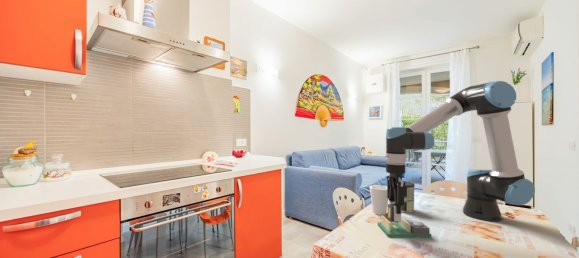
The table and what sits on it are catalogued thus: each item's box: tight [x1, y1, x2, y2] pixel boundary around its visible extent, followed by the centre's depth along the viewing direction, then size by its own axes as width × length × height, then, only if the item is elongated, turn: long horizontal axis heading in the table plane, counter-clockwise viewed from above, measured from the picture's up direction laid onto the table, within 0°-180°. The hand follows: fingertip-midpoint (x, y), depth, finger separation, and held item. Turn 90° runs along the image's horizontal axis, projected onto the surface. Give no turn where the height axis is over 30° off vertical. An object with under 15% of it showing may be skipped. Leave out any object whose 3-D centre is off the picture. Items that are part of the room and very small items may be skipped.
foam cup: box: [369, 184, 389, 216], centre depth 126 cm, size 10×9×13 cm
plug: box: [386, 203, 401, 223], centre depth 104 cm, size 4×4×6 cm
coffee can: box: [394, 180, 416, 214], centre depth 131 cm, size 10×10×14 cm
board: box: [377, 215, 432, 238], centre depth 103 cm, size 17×12×5 cm
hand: (395, 218), depth 104 cm, fingers closed on plug, 4 cm apart
